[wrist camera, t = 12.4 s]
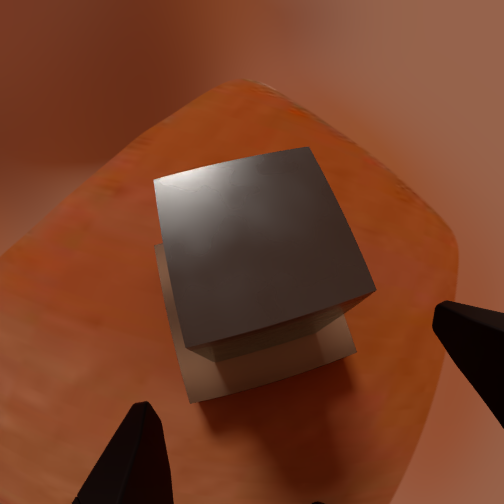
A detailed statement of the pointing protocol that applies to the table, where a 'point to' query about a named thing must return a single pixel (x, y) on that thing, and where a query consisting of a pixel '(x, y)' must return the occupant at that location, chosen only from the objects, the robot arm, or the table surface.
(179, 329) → the walnut block
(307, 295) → the tea tin
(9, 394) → the table surface
